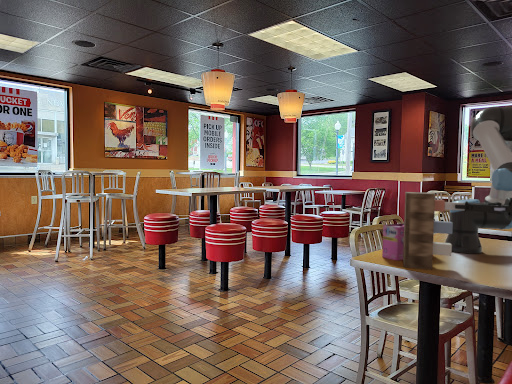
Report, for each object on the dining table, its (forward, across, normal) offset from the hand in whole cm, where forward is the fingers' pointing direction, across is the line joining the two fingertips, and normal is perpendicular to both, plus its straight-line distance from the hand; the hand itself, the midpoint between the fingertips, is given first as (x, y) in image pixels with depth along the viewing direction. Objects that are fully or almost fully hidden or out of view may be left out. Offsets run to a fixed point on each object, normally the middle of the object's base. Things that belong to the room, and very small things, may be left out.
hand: (444, 205), depth 140 cm
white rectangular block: (+2, 0, -18) cm, 18 cm away
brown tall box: (+9, 0, -23) cm, 24 cm away
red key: (+5, 0, -2) cm, 5 cm away
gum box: (+11, +17, -23) cm, 31 cm away
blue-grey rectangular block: (+2, 0, -10) cm, 10 cm away
